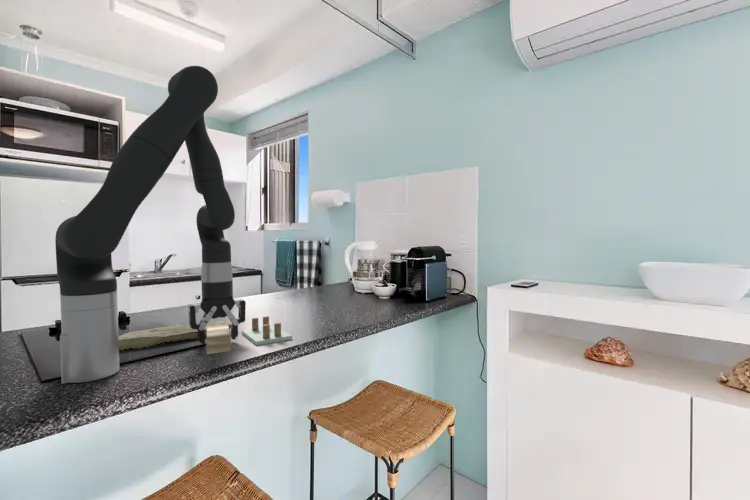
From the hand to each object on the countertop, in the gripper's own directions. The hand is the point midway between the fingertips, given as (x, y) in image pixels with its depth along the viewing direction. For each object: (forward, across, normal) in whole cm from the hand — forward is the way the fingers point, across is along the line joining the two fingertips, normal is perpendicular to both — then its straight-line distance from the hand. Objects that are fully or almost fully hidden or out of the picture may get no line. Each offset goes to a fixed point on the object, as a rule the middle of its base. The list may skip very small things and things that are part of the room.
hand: (218, 341), depth 96 cm
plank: (+1, 0, 0) cm, 1 cm away
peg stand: (+1, +13, 0) cm, 13 cm away
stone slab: (+2, -9, +14) cm, 17 cm away
